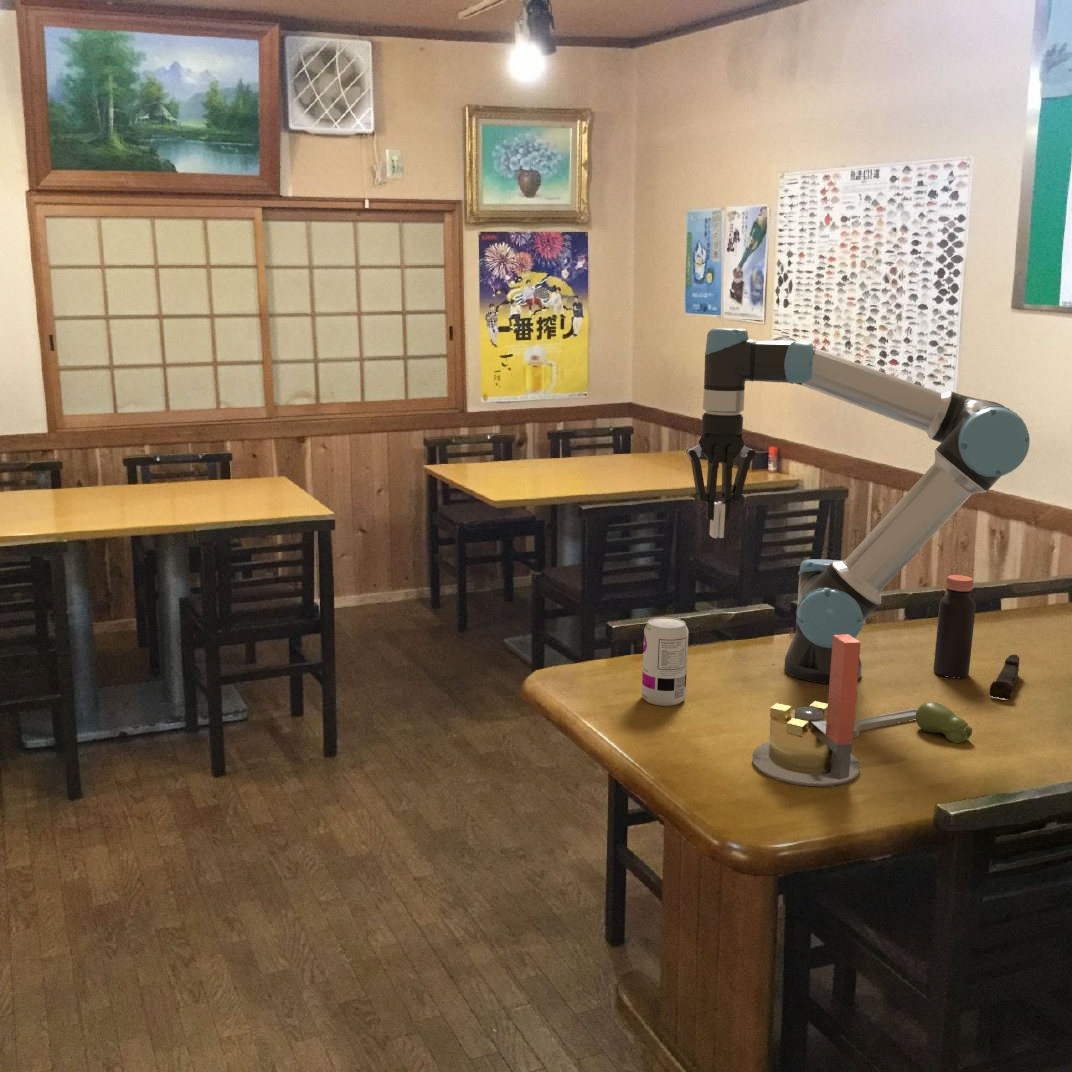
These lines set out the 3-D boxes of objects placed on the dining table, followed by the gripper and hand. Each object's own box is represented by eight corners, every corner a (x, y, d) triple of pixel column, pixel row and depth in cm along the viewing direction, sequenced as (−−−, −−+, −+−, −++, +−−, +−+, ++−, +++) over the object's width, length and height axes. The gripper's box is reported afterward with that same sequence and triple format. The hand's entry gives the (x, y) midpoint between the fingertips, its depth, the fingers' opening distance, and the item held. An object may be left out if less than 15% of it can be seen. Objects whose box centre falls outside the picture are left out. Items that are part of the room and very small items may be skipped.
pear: (931, 694, 209) (981, 719, 202) (923, 720, 211) (973, 746, 204) (913, 700, 206) (964, 726, 199) (906, 727, 207) (956, 753, 200)
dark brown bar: (1010, 703, 222) (1013, 680, 221) (988, 699, 224) (991, 676, 223) (1027, 676, 238) (1030, 654, 237) (1007, 672, 240) (1009, 651, 239)
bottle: (975, 675, 237) (985, 579, 233) (954, 681, 233) (964, 583, 229) (947, 666, 242) (956, 572, 238) (926, 671, 239) (935, 576, 234)
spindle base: (835, 743, 200) (839, 690, 198) (876, 784, 184) (881, 727, 182) (739, 746, 198) (742, 693, 196) (771, 789, 182) (775, 731, 180)
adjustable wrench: (923, 714, 216) (924, 705, 216) (947, 727, 210) (948, 717, 210) (809, 730, 207) (810, 720, 207) (831, 743, 201) (832, 734, 201)
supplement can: (634, 702, 218) (637, 624, 215) (651, 689, 225) (654, 614, 222) (675, 710, 215) (679, 631, 211) (691, 696, 222) (695, 620, 219)
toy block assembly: (757, 745, 195) (765, 609, 190) (824, 741, 198) (834, 606, 193) (804, 793, 177) (814, 644, 172) (877, 788, 179) (890, 641, 174)
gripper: (752, 410, 222) (745, 532, 227) (682, 410, 221) (676, 532, 226) (764, 414, 215) (757, 540, 220) (692, 414, 213) (686, 541, 218)
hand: (716, 536), depth 223 cm, fingers closed
